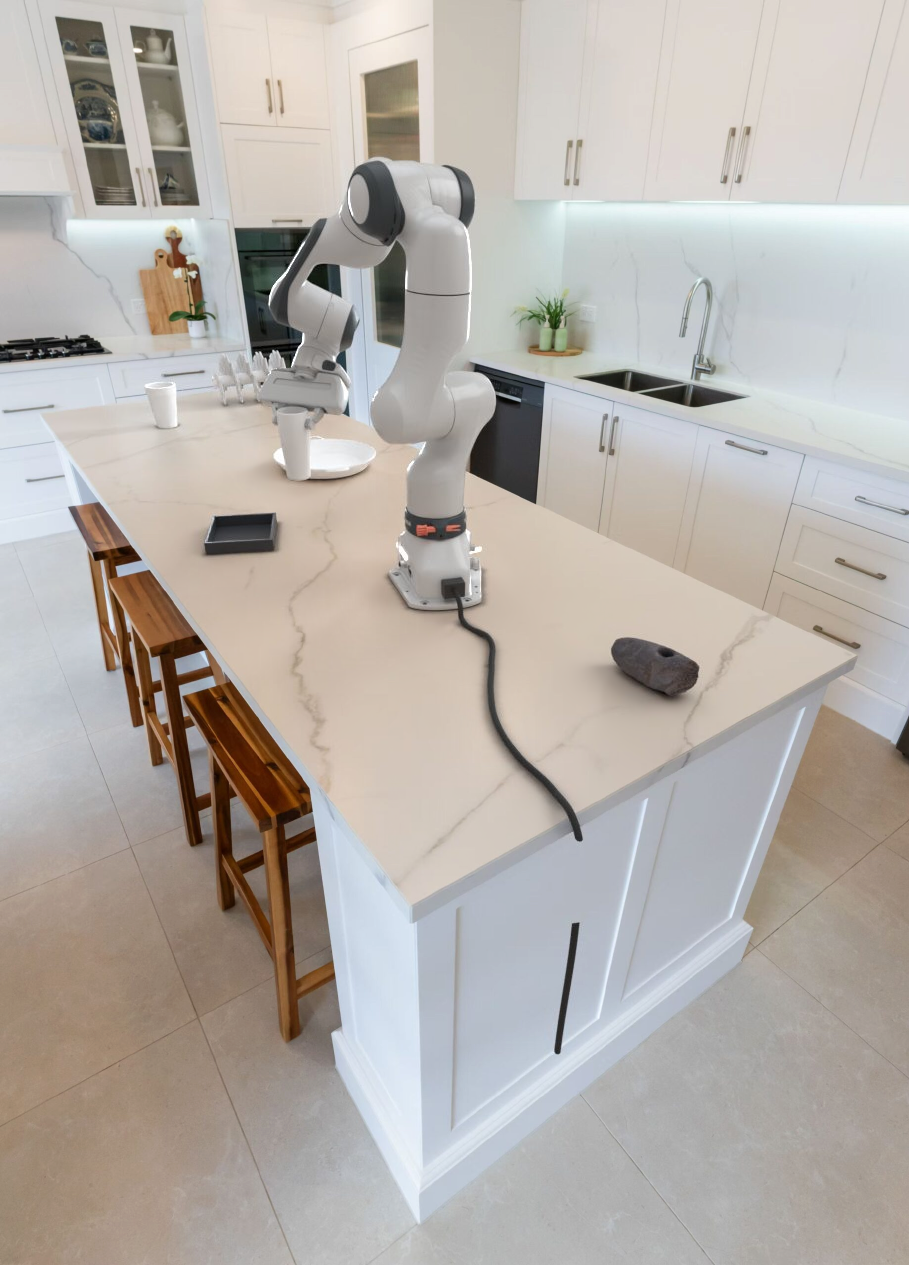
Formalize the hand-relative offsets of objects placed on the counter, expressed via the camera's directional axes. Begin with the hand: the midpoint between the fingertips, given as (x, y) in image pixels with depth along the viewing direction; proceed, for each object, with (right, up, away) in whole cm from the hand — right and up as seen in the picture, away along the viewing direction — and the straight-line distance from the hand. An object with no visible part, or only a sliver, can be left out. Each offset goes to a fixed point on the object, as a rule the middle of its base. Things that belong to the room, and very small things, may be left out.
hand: (292, 426), depth 159 cm
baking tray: (-12, -23, +6) cm, 27 cm away
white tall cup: (0, -10, +7) cm, 12 cm away
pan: (-1, +2, +49) cm, 49 cm away
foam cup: (-60, +24, +84) cm, 106 cm away
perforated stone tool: (+66, -52, -41) cm, 94 cm away
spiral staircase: (-40, +40, +113) cm, 126 cm away
